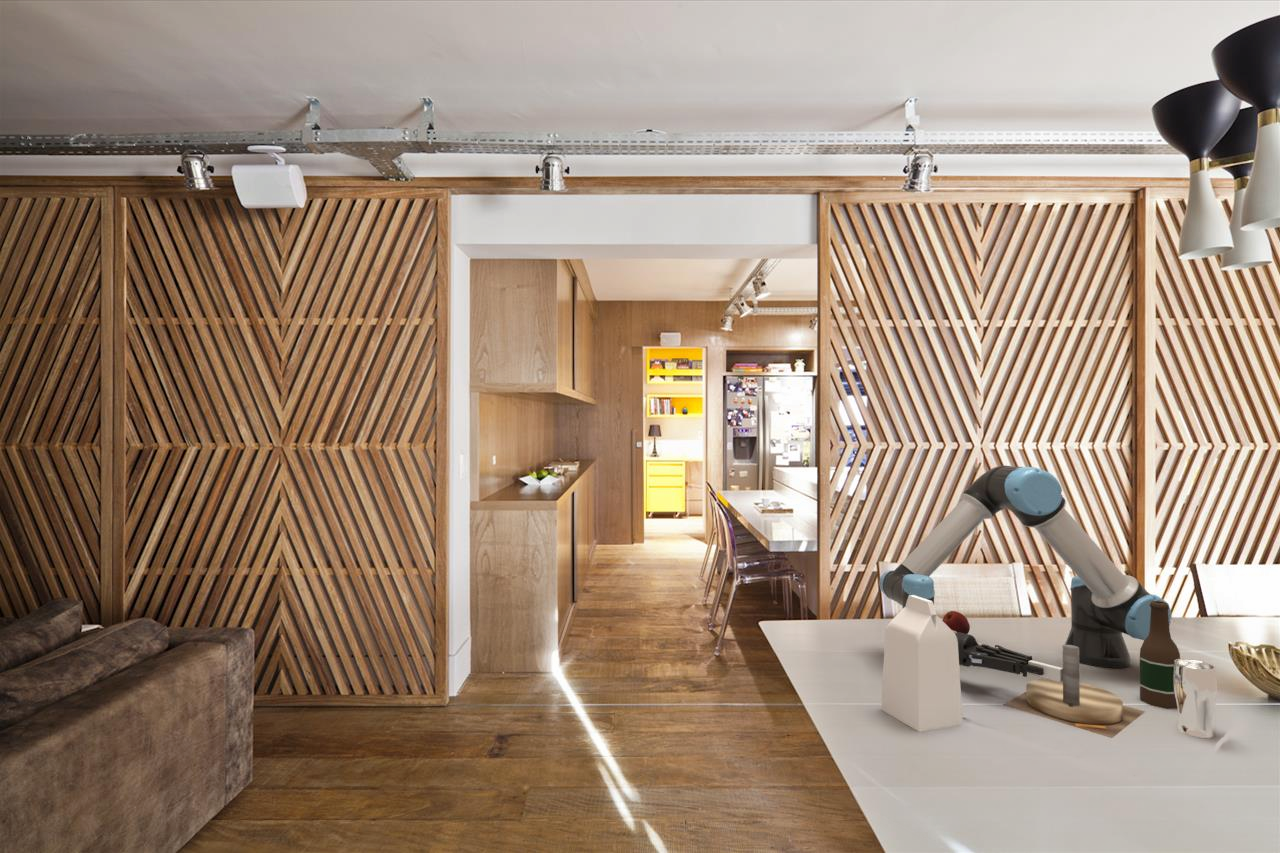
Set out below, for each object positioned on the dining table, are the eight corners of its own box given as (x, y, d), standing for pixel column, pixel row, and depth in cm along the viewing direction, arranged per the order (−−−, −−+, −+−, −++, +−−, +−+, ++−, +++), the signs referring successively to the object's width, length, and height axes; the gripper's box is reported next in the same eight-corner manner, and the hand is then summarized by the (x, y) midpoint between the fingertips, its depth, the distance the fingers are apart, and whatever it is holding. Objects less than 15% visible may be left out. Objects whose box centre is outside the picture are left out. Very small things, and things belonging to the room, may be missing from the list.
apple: (938, 633, 209) (938, 607, 209) (965, 634, 208) (964, 608, 208) (946, 640, 202) (946, 613, 202) (973, 641, 201) (973, 614, 201)
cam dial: (1030, 685, 161) (1030, 623, 161) (1122, 703, 150) (1121, 636, 151) (1022, 710, 146) (1021, 642, 146) (1123, 732, 136) (1122, 658, 136)
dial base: (1041, 688, 163) (1041, 682, 163) (1145, 716, 147) (1145, 710, 147) (1002, 709, 150) (1002, 703, 150) (1112, 743, 134) (1112, 736, 134)
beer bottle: (1173, 703, 154) (1172, 599, 154) (1188, 716, 147) (1187, 607, 147) (1133, 698, 157) (1132, 596, 157) (1146, 711, 149) (1145, 604, 150)
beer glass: (1225, 746, 132) (1225, 670, 133) (1186, 743, 134) (1185, 668, 134) (1203, 731, 139) (1203, 659, 140) (1166, 728, 141) (1165, 657, 141)
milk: (881, 709, 150) (880, 593, 151) (922, 703, 154) (922, 590, 154) (918, 731, 139) (918, 606, 139) (962, 724, 142) (962, 602, 143)
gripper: (968, 657, 167) (1073, 685, 148) (941, 667, 159) (1049, 699, 140) (968, 627, 167) (1073, 652, 148) (941, 636, 159) (1049, 663, 140)
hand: (1061, 675), depth 144 cm, fingers closed
